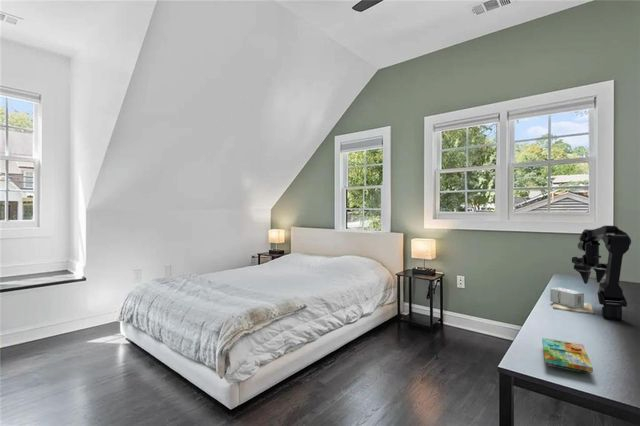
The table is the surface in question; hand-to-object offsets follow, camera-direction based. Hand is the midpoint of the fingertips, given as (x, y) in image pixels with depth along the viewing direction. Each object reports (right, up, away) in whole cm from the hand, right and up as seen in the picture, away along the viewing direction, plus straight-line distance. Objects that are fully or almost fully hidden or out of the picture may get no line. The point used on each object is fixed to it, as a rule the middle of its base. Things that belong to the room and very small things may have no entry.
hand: (592, 283), depth 172 cm
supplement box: (-11, -8, -6) cm, 15 cm away
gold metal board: (-12, -12, -1) cm, 17 cm away
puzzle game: (-61, -13, -63) cm, 89 cm away
